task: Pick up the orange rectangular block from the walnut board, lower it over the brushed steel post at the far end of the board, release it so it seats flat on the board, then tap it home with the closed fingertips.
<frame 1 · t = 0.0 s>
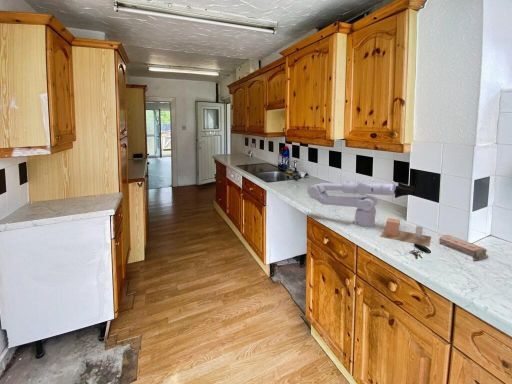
hand: (413, 190, 141), 22 cm above the countertop, tool horizontal, fingers open, 7 cm apart
packaged product: (458, 252, 129), on the countertop
board: (405, 239, 140), on the countertop
orange rectangular block: (391, 233, 143), point 1 cm above the countertop, touching board
post: (417, 238, 138), resting on board
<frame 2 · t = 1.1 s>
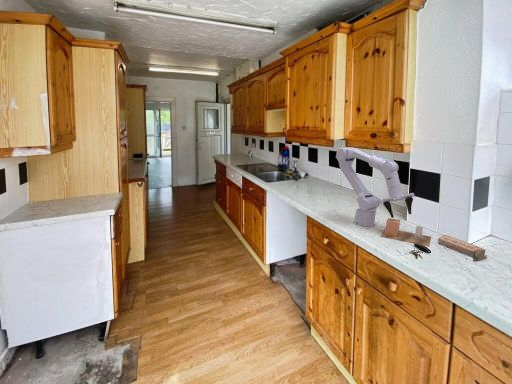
hand: (401, 215, 140), 10 cm above the countertop, tool tilted 20°, fingers open, 7 cm apart
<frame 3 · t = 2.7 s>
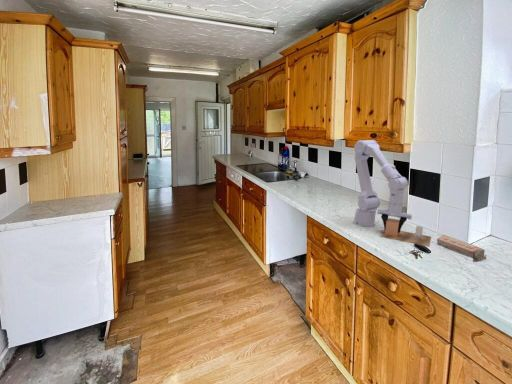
hand: (392, 231, 143), 3 cm above the countertop, tool pointing down, fingers closed on orange rectangular block, 5 cm apart
orange rectangular block: (391, 233, 143), point 1 cm above the countertop, touching board, gripper
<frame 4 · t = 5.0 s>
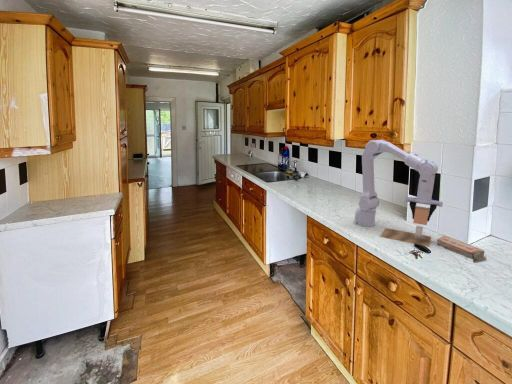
hand: (420, 219, 136), 10 cm above the countertop, tool pointing down, fingers closed on orange rectangular block, 5 cm apart
orange rectangular block: (420, 222, 136), point 9 cm above the countertop, touching gripper
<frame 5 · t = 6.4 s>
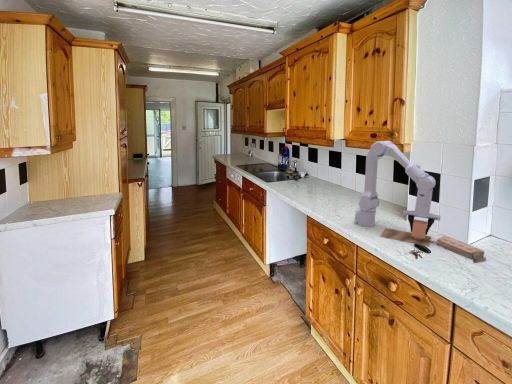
hand: (418, 232, 137), 4 cm above the countertop, tool pointing down, fingers closed on orange rectangular block, 5 cm apart
orange rectangular block: (418, 235, 137), point 3 cm above the countertop, touching gripper
when the fingers open (4 cm above the countertop, at t = 7.1 s): orange rectangular block drops 1 cm, resting on board.
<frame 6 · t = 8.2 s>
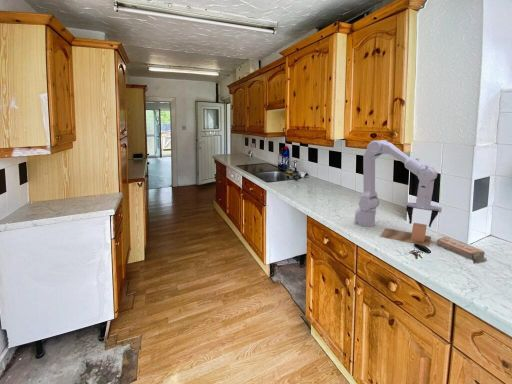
hand: (419, 224, 136), 8 cm above the countertop, tool pointing down, fingers open, 7 cm apart
orange rectangular block: (417, 238, 138), point 1 cm above the countertop, touching board
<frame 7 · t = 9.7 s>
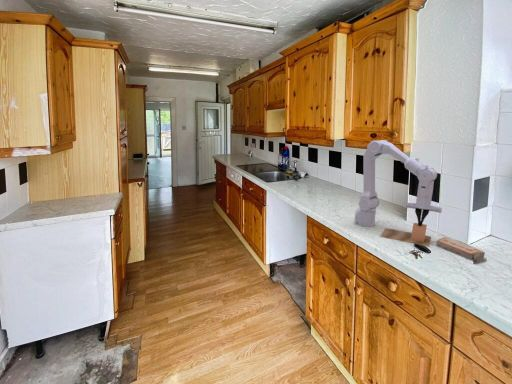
hand: (419, 225, 136), 8 cm above the countertop, tool pointing down, fingers closed, pressing on orange rectangular block
orange rectangular block: (417, 238, 138), point 1 cm above the countertop, touching board, gripper
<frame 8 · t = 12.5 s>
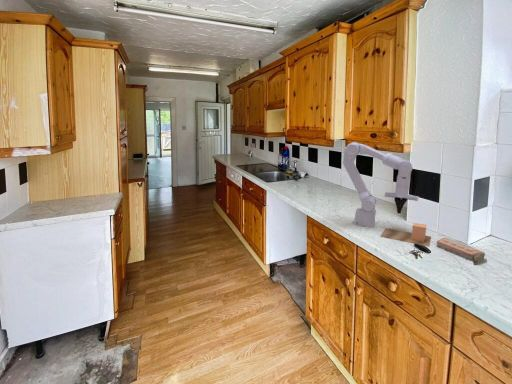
hand: (399, 212, 148), 9 cm above the countertop, tool pointing down, fingers closed
orange rectangular block: (417, 238, 138), point 1 cm above the countertop, touching board
at the end: orange rectangular block 0.0 cm from the post (horizontally); orange rectangular block point 1.2 cm above the countertop; orange rectangular block tilted 0° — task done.
